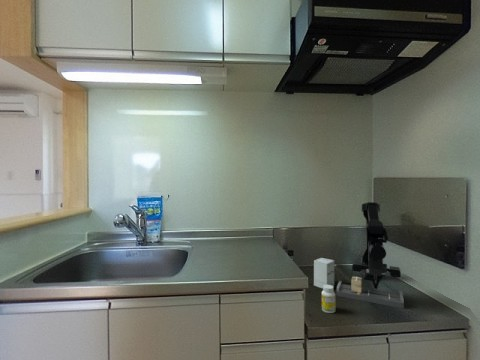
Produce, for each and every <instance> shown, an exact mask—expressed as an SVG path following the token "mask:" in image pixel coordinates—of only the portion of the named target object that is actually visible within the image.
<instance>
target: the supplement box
mask: <svg viewBox="0 0 480 360" xmlns="http://www.w3.org/2000/svg"><path fill="white" fill-rule="evenodd" d="M323 285H332V286H333V287H335V260H333V259H329V258H323V257H320V258H317V259H315V260H313V286H315V287H317V288H319V289H323Z"/></svg>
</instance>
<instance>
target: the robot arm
mask: <svg viewBox="0 0 480 360" xmlns="http://www.w3.org/2000/svg"><path fill="white" fill-rule="evenodd" d="M380 208H381V204H379V203H378V202H376V201H375V202H373V201H372V202H371V201H368V202H364V203H362V204H361V206H360V209H361V210H360V211H361V213H362V216H363V217H364V218H365V238H366V239H365V240H366V241H365V242H366V243H365V244H366V245H365V248H364V250H363V251H362V252H363V253H362V255H361V261H355V260H354V261H353V262H352V266H351V268H352V269H351V271H354V272H361V271H363V270H364V274H363V278H362V279H364V280H369V281H371V282H372V285H373V287H374V288H373V289H375V290H378V287H379V284H380V282H381V279H383V278H385V277H386V274H389V275H390V276H391V277H393V278H402V273H401V272H402V271H401V268H400V267H399V266H393V265H392V266H391V265H389V267H388V264H387V263H384V259H385V258H386V257H387V251H386V248H385V247H384V244H383V243H385V244H387V242H388V239H389V238H388V230H387V229H386V227H384V223H383V222H382V221H380V218H379V213H380V212H381V209H380Z"/></svg>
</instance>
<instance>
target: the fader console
mask: <svg viewBox="0 0 480 360" xmlns="http://www.w3.org/2000/svg"><path fill="white" fill-rule="evenodd" d="M336 296H337V297H341V298H346V299H352V300H355V301H356V300H357V301H363V302H367V303H373V304H378V305H383V306H387V307H393V308H399V309H405V305H404V304H405V302H404V294H403V290H399V291H398V293H397V292H394V291H393V292H392V291H388V290H387V291H386V290H381V289H375V288H368V287H363V286H362V291H361V293H359V292H353V291H351V284H346V283H345V284H344V283H342V280H338V283H337V285H336V292H335V297H336Z"/></svg>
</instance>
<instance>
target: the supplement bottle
mask: <svg viewBox="0 0 480 360" xmlns="http://www.w3.org/2000/svg"><path fill="white" fill-rule="evenodd" d="M334 287H335V286H332V285H323V288H322V291H321V310H322V312H324V313H326V314H327V313H328V314H333V313H335V312H336V292H335V291H334Z"/></svg>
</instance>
